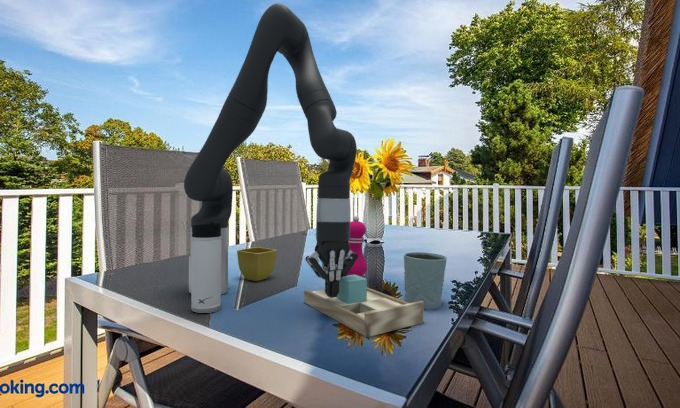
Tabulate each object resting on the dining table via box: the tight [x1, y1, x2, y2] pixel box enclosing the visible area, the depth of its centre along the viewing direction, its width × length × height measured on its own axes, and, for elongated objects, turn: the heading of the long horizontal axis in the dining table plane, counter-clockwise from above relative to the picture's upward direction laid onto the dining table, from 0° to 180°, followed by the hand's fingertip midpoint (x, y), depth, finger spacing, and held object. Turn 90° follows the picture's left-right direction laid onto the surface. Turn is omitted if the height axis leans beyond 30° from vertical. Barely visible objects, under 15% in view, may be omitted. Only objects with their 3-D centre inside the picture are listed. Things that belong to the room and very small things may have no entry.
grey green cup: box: [403, 251, 448, 311], centre depth 89 cm, size 10×10×12 cm
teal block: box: [336, 275, 368, 304], centre depth 84 cm, size 5×5×5 cm
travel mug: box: [190, 222, 222, 314], centre depth 82 cm, size 6×7×20 cm
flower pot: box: [236, 246, 278, 282], centre depth 111 cm, size 9×9×9 cm
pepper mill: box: [347, 215, 368, 278], centre depth 109 cm, size 7×7×20 cm
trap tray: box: [303, 286, 425, 338], centre depth 83 cm, size 15×25×4 cm, turn 33°
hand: (331, 296), depth 81 cm, fingers closed
